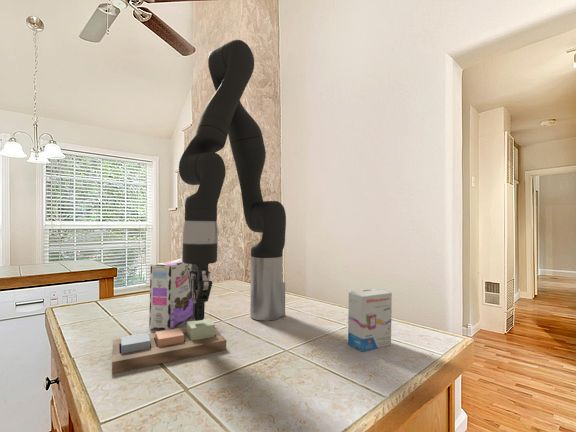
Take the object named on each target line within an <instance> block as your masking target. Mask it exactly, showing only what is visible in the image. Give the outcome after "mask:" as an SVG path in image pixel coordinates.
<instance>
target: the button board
mask: <svg viewBox="0 0 576 432" xmlns="http://www.w3.org/2000/svg"><path fill="white" fill-rule="evenodd" d="M180 329H181V331H182V332H183V334H184V342H182V343H177V344H171V345H166V346H161V347H157V346H156V343H155V332H153V333H148V335H149V338H150V349H144V350H139V351H133V352H128V353H122V354H121V338H116V339H112V348H111V349H112V351H111V352H112V355H111V357H112V358H111V374H116V373H120V372H121V373H122V372H125V371H130V370H136V369H139V368H145V367H149V366H155V365H159V364H163V363H168V362H169V363H170V362H173V361H180V360H183V359H189V358H194V357H197V356H202V355H203V356H204V355H207V354H211V353H216V352H217V353H218V352H221V351H226V350H227V339H226V338H225V337H224V336H223V335H222V333H220V332H219V330H218V329H216V328H215V337H210V338H204V339H199V340H193V341H190V340H189V338H188V337H187V327H184V328H180Z"/></svg>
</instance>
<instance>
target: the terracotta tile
mask: <svg viewBox="0 0 576 432" xmlns="http://www.w3.org/2000/svg"><path fill="white" fill-rule="evenodd" d="M181 329H182V328H180V327H177V328H172V329H169V330H159V331H155V332H154V333H155V343H156V346H157V347H161V346H166V345H171V344H177V343H182V342H184V334H183V332H182V331H181Z"/></svg>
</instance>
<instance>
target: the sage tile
mask: <svg viewBox="0 0 576 432" xmlns="http://www.w3.org/2000/svg"><path fill="white" fill-rule="evenodd" d="M215 326H216V324H215V323H214V322H213V321H212V320H211V319H210V318H204V319H203V320H200V321H195V320H191V321H186V328H187V337H188V338H189V340H190V341H193V340H199V339H204V338H210V337H215V329H216V327H215Z"/></svg>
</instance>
